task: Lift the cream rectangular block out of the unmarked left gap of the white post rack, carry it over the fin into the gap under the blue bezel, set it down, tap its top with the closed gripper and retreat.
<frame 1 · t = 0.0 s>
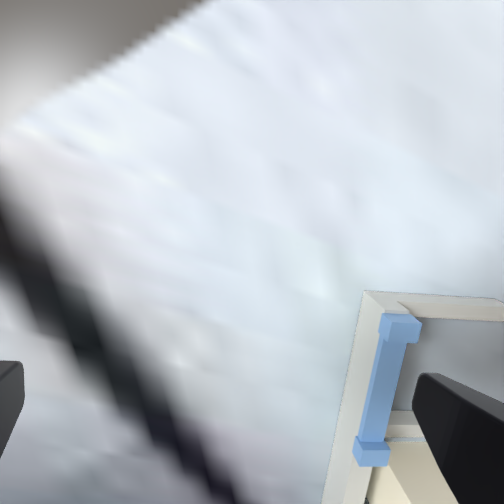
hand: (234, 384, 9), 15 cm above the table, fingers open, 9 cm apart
white post rack: (348, 416, 28), on the table
cream rectangular block: (397, 466, 30), on the table
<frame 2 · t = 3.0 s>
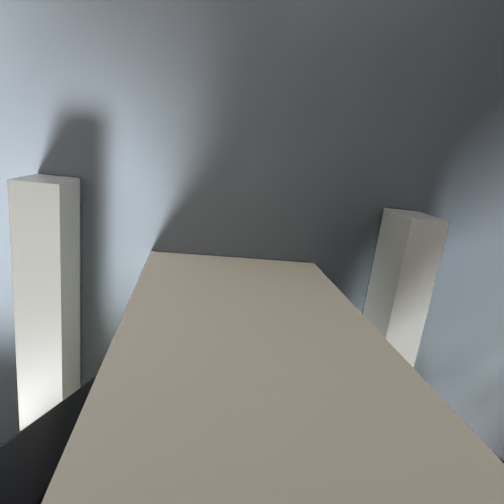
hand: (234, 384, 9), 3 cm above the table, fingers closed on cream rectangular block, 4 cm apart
white post rack: (62, 469, 12), on the table
cream rectangular block: (227, 331, 11), on the table, touching gripper
when the fingers open (3 cm above the table, at t = 6.9 s): cream rectangular block stays where it is, on the table.
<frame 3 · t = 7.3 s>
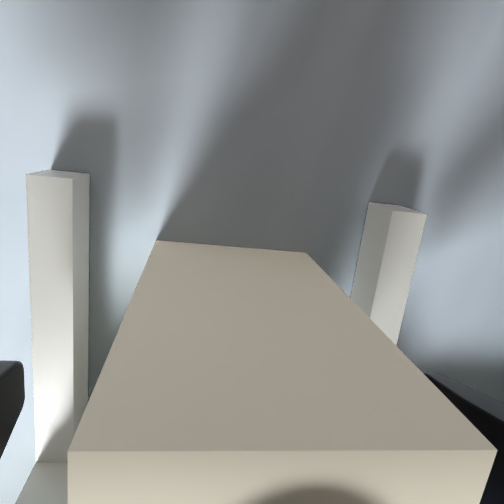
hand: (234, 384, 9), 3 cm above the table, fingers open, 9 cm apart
white post rack: (335, 443, 14), on the table
cream rectangular block: (225, 315, 12), on the table
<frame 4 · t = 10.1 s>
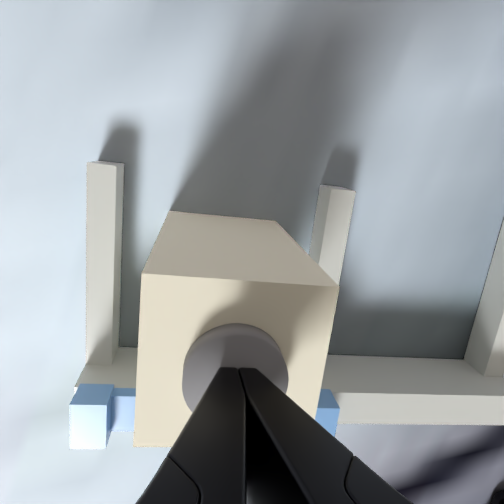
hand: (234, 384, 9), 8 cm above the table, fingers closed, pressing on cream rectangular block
white post rack: (301, 367, 19), on the table
cream rectangular block: (218, 266, 17), on the table, touching gripper
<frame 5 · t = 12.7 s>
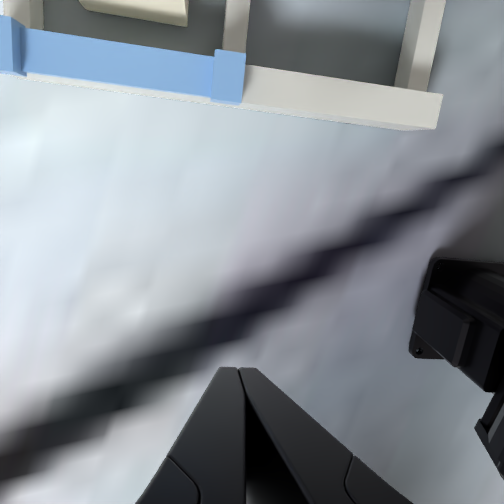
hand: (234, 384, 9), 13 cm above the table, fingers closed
white post rack: (228, 90, 19), on the table
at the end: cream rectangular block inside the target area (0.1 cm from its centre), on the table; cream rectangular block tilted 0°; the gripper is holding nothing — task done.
